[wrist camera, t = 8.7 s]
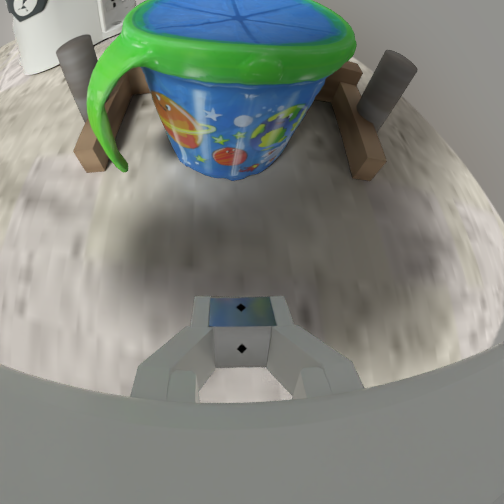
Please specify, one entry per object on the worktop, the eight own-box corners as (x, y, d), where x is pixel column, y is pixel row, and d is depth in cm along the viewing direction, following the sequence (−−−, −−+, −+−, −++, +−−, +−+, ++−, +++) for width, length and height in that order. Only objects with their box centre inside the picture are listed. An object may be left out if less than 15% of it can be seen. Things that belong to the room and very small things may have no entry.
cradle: (108, 88, 19) (89, 18, 11) (355, 98, 21) (388, 34, 14) (71, 174, 16) (20, 95, 8) (385, 183, 18) (447, 113, 11)
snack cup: (273, 76, 21) (295, -20, 11) (355, 154, 19) (420, 51, 9) (102, 141, 17) (58, 28, 7) (157, 259, 14) (77, 129, 5)
